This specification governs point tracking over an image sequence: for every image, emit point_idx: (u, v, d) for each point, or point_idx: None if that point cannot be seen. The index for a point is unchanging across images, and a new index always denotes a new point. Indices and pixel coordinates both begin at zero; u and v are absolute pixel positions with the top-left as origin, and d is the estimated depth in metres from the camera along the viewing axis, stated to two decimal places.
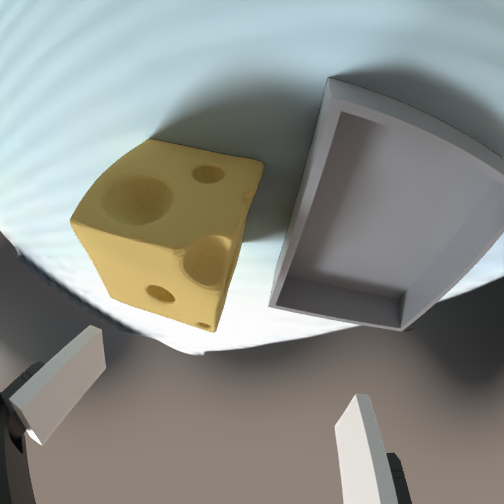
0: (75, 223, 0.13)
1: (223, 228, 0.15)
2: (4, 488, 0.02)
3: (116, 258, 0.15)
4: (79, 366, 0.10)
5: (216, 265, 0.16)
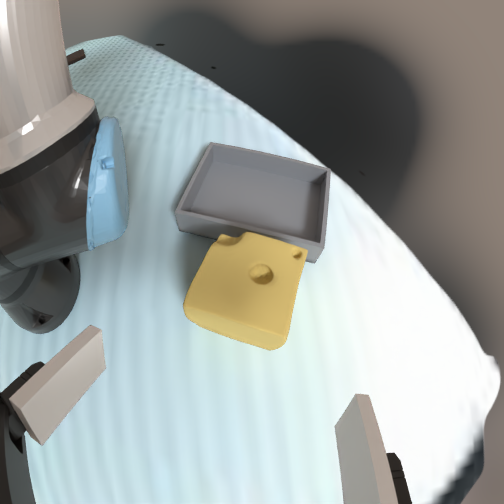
0: (185, 299, 0.25)
1: None
2: (4, 488, 0.02)
3: (217, 284, 0.26)
4: (79, 366, 0.10)
5: (237, 240, 0.30)
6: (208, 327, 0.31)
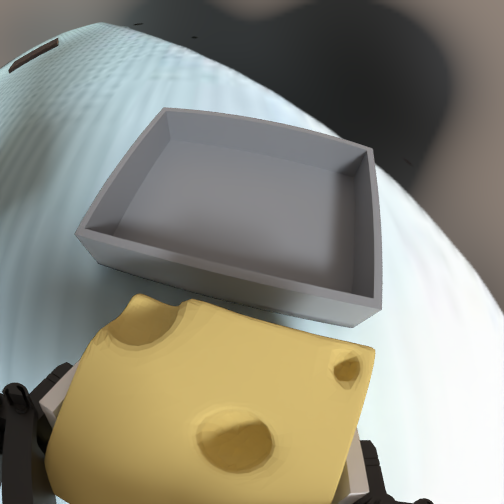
0: None
1: None
2: (27, 494, 0.03)
3: (106, 464, 0.06)
4: None
5: (171, 318, 0.10)
6: None
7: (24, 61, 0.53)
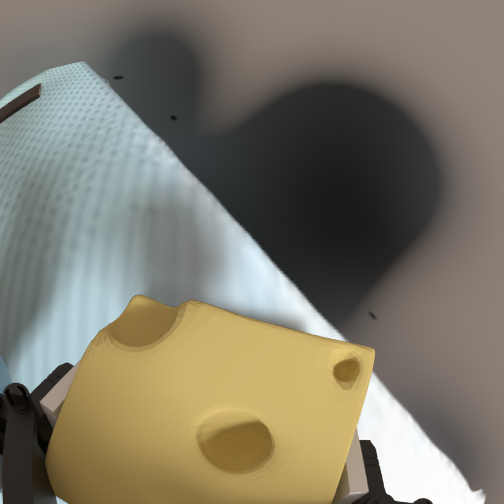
0: None
1: None
2: (28, 494, 0.03)
3: (106, 465, 0.06)
4: None
5: (171, 319, 0.10)
6: None
7: (7, 115, 0.58)
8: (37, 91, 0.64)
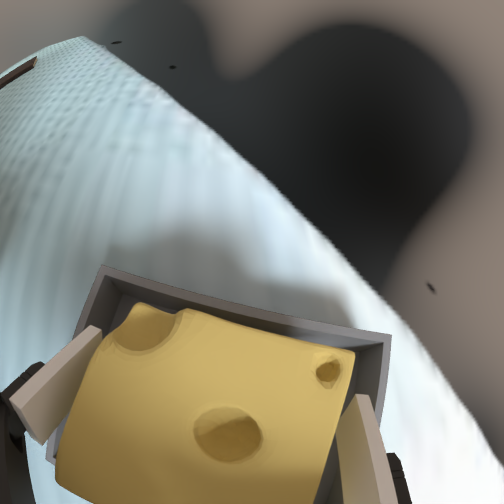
0: (55, 473, 0.06)
1: None
2: (4, 488, 0.02)
3: (113, 457, 0.07)
4: (79, 366, 0.10)
5: (170, 325, 0.11)
6: None
7: None
8: (32, 62, 0.52)
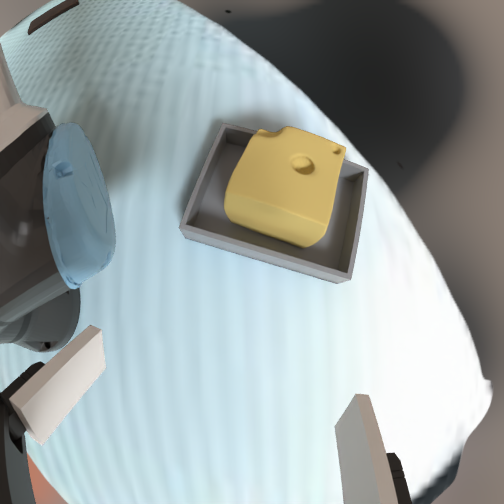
0: (228, 186, 0.24)
1: (256, 133, 0.28)
2: (4, 488, 0.02)
3: (260, 171, 0.25)
4: (79, 366, 0.10)
5: (277, 134, 0.28)
6: (243, 222, 0.32)
7: (44, 22, 0.46)
8: (76, 0, 0.49)
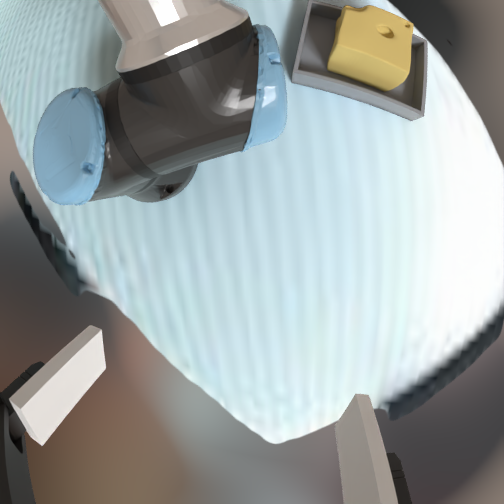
0: (338, 41, 0.24)
1: (344, 8, 0.24)
2: (4, 488, 0.02)
3: (358, 33, 0.23)
4: (79, 366, 0.10)
5: (361, 10, 0.23)
6: (340, 69, 0.31)
7: None
8: None
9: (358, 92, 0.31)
